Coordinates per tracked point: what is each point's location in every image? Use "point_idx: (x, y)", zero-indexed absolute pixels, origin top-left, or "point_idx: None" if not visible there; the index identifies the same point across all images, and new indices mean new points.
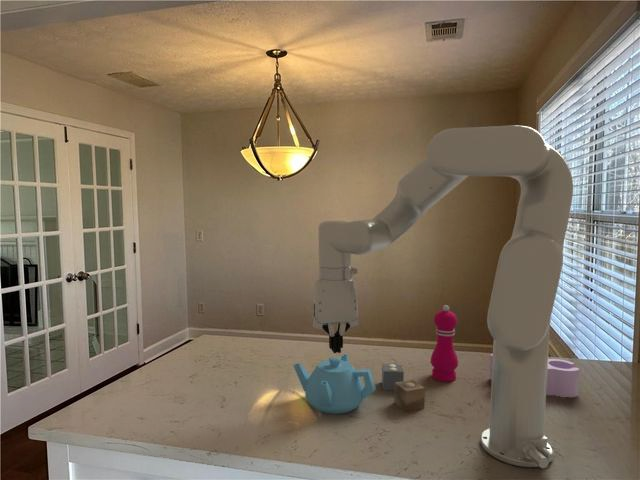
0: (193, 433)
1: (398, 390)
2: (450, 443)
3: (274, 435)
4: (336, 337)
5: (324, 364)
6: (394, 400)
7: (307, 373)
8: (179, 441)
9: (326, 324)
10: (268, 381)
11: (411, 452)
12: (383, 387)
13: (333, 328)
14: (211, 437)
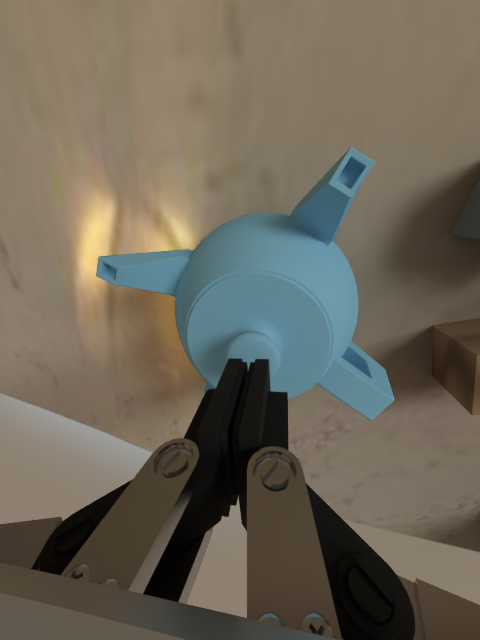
0: (16, 372)
1: (462, 368)
2: (443, 484)
3: (140, 402)
4: (232, 504)
5: (213, 325)
6: (437, 328)
7: (167, 263)
8: (9, 388)
9: (94, 557)
10: (69, 120)
11: (355, 485)
12: (456, 235)
13: (183, 599)
14: (47, 387)
